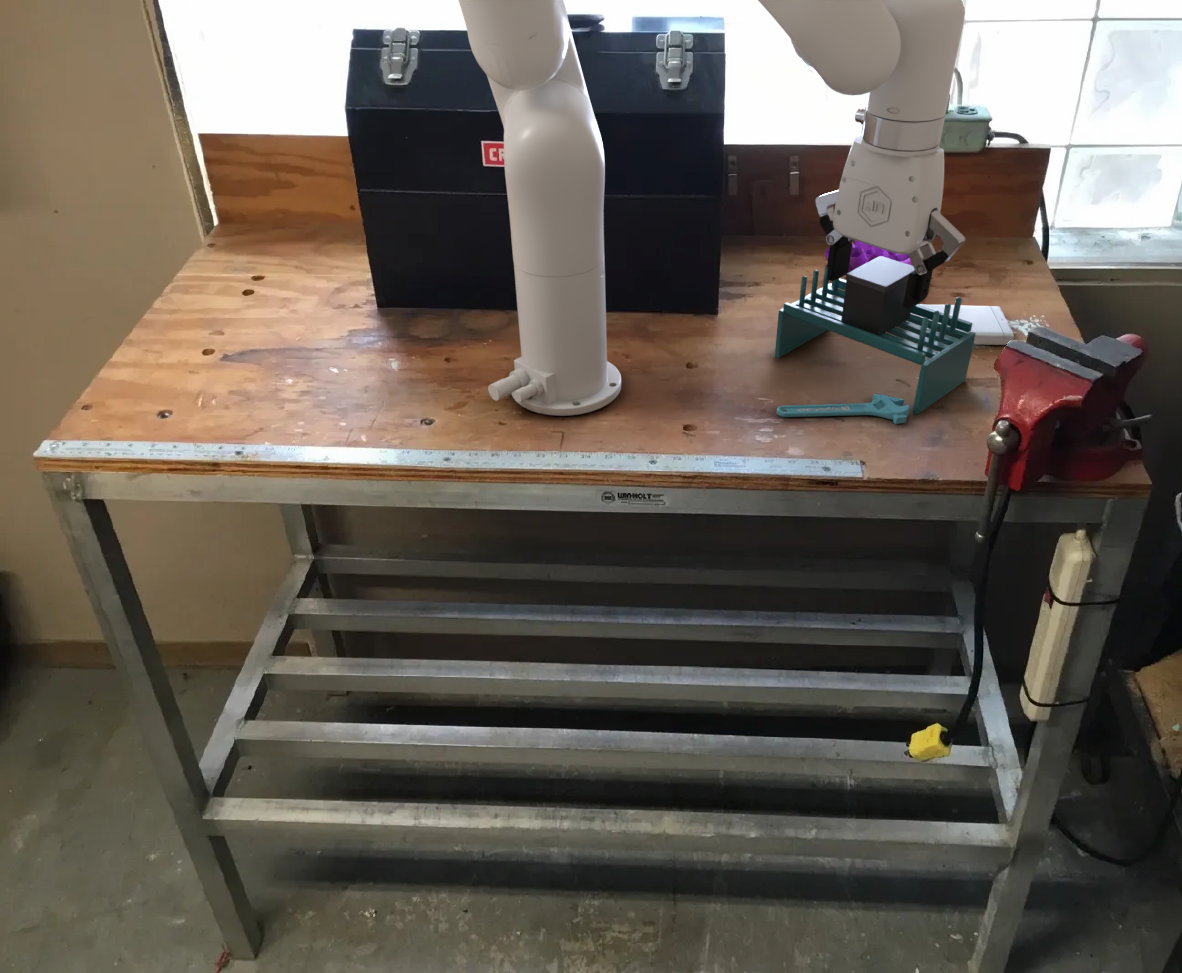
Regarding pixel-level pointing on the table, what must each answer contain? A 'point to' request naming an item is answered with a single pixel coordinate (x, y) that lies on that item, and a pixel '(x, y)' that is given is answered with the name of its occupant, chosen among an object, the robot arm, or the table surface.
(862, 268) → the black box
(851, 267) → the purple tubular cluster
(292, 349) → the table surface
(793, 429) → the table surface
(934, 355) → the rack
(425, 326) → the table surface
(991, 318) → the hard drive
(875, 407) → the adjustable wrench
